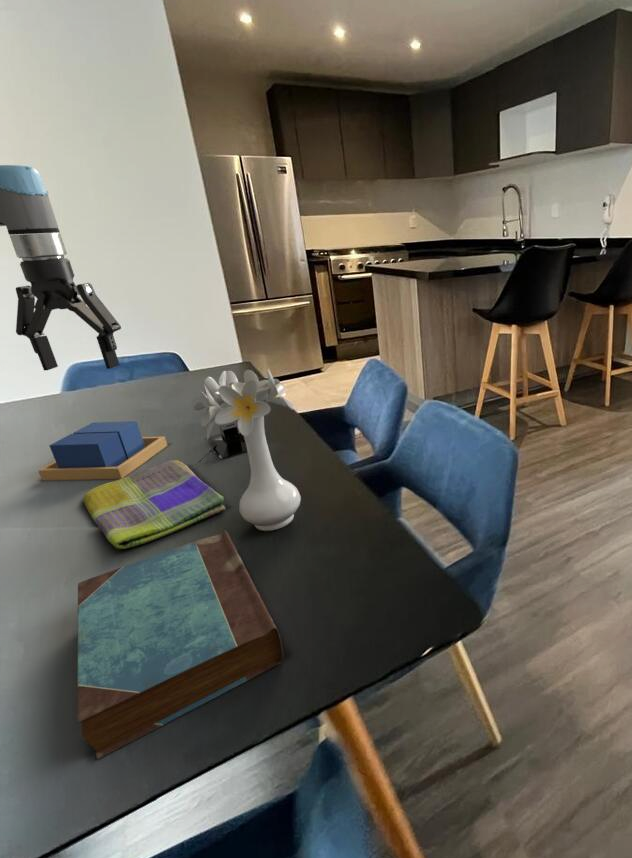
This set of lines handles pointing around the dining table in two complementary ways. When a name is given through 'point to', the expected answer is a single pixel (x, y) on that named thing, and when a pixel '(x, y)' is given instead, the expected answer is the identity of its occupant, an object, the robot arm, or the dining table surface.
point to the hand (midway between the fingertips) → (82, 367)
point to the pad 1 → (88, 450)
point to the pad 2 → (119, 434)
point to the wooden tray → (119, 472)
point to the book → (167, 639)
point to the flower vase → (252, 443)
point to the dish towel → (151, 504)
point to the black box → (230, 441)
